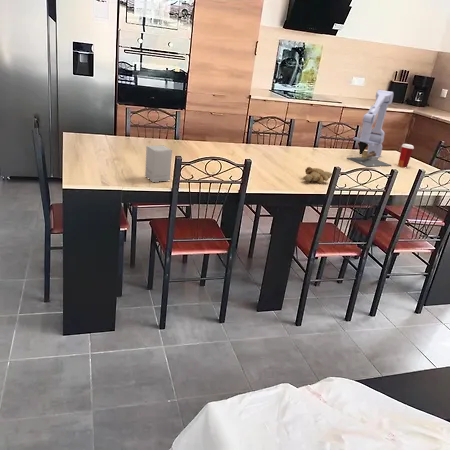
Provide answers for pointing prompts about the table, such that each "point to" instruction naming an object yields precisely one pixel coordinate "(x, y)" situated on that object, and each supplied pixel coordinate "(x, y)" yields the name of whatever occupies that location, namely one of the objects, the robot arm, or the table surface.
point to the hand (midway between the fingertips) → (360, 154)
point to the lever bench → (369, 161)
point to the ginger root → (316, 175)
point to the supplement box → (158, 163)
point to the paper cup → (405, 155)
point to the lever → (366, 155)
